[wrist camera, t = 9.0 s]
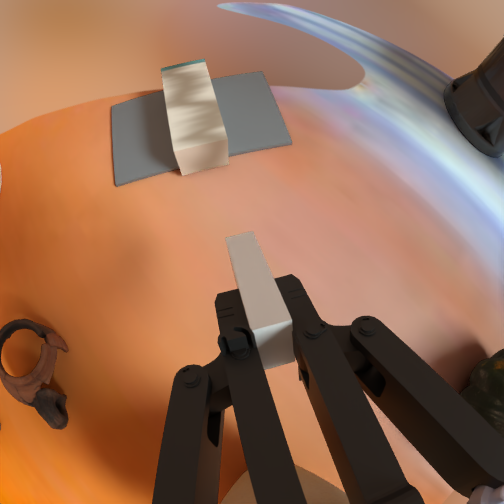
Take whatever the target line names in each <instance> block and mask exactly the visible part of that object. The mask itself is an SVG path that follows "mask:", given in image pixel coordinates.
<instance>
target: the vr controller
mask: <svg viewBox="0 0 504 504" xmlns="http://www.w3.org/2000/svg"><path fill="white" fill-rule="evenodd" d="M19 329H31V330H33V331H34V332H36V334H37V335H38V336H39V337H41V338H44V339H45V342H46V344H42V346H41V356H40V360H39V362H38V364H37V365H36V367H35V368H34V369H33V371H32V372H31V373H30V374H28V375H26V376H23V377H13V376H11V375H9V374H8V373H7V372H6V371H5V370H4V368H3V366H2V363H1V351H2V347H3V344H4V342H5V341H6V339H8V338H10V336H11V334H12V333H14V332H15V331H17V330H19ZM57 349H61V350H63V351H64V352H68V347H67V345H66V343H65V342H64V340H62V339H61V337H60V336H58V335H56V333H55V332H54V331H53V330H52V329H50V328H48V327H46V326H44V325H41V324H38V323H35V322H33V321H31V320H28V319H21V320H20V319H18V320H14V321H12V322H9V323H8V324H6V325H5V326H4V327H3V328H2V329H1V330H0V378H1V381H2V383H3V385H4V387H5V388H6V390H7V391H8V392H9V393H10V394H11V395H12V396H13V397H14V398H15V399H17V400H18V401H20V402H22V403H23V404H25V405H28V406H32V407H35V408H36V410H37V411H38V413H39V415H40V416H42V417H43V419H44V420H45V421H46V422H47V423H48V424H49V425H50V426H51V427H52V428H54V429H60V430H62V429H64V428H65V427H66V426H67V423H68V414H67V411H66V407H65V403H66V399H67V396H66V395H64V394H63V395H61V394H59V393H57V392H56V391H55V390H53V389H50V388H42V389H40V387H41V384H42V383H46V384H49V382H50V380H51V377H52V374H53V372H54V367H55V363H56V359H57Z"/></svg>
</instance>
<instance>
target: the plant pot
mask: <svg viewBox="0 0 504 504" xmlns="http://www.w3.org/2000/svg"><path fill="white" fill-rule="evenodd" d="M294 466H295V469H296V472H297V475H298V478H299V481H300V484H301V487H302V490H303V493H304V495H305V498H306V501H307V504H350V503H349V500H348V497H347V495H346V493H345V492H343V491H342V490H340V489H339V488H337V487H335V486H334V485H332V484H331V483H329V482H327V481H326V480H324V479H322V478H321V477H319V476H317V475H315V474H313V473H311V472H309V471H308V470H305V469H303V468H301V467H299V466H297V465H295V464H294ZM220 504H257V502H256V499H255V495H254V491H253V487H252V484H251V480H250V476H249V472H248V470H247V471H245V472H244V473H243V474H242V475H241V476H240V478H239V479H238V480H237V481H236V482H235V484H234V485H233V486H232V487H231V489H230V490H229V491H228V493H227V494H226V496H225V497H224V499H223V500H222V502H221V503H220Z"/></svg>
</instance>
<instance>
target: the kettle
mask: <svg viewBox="0 0 504 504" xmlns="http://www.w3.org/2000/svg"><path fill="white" fill-rule="evenodd" d="M1 184H2V175H1V165H0V191H1Z"/></svg>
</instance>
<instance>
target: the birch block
mask: <svg viewBox="0 0 504 504" xmlns="http://www.w3.org/2000/svg"><path fill="white" fill-rule="evenodd" d="M161 74H162V82H163V89H164V96H165V102H166V109H167V115H168V121H169V127H170V133H171V139H172V145H173V150H174V154H175V157H176V159H177V162H178V165H179V168H180V171H181V173H182V176H183V175H187V174H191V173H195V172H199V171H203V170H207V169H212V168H216V167H220V166H225V165H229V158H228V138H227V134H226V131H225V127H224V124H223V120H222V117H221V114H220V110H219V107H218V103H217V100H216V96H215V93H214V90H213V86H212V83H211V79H210V76H209V73H208V69H207V66H206V62H205V59H201V60H196V61H191V62H186V63H182V64H177V65H173V66H169V67H165V68H162V69H161Z"/></svg>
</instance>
